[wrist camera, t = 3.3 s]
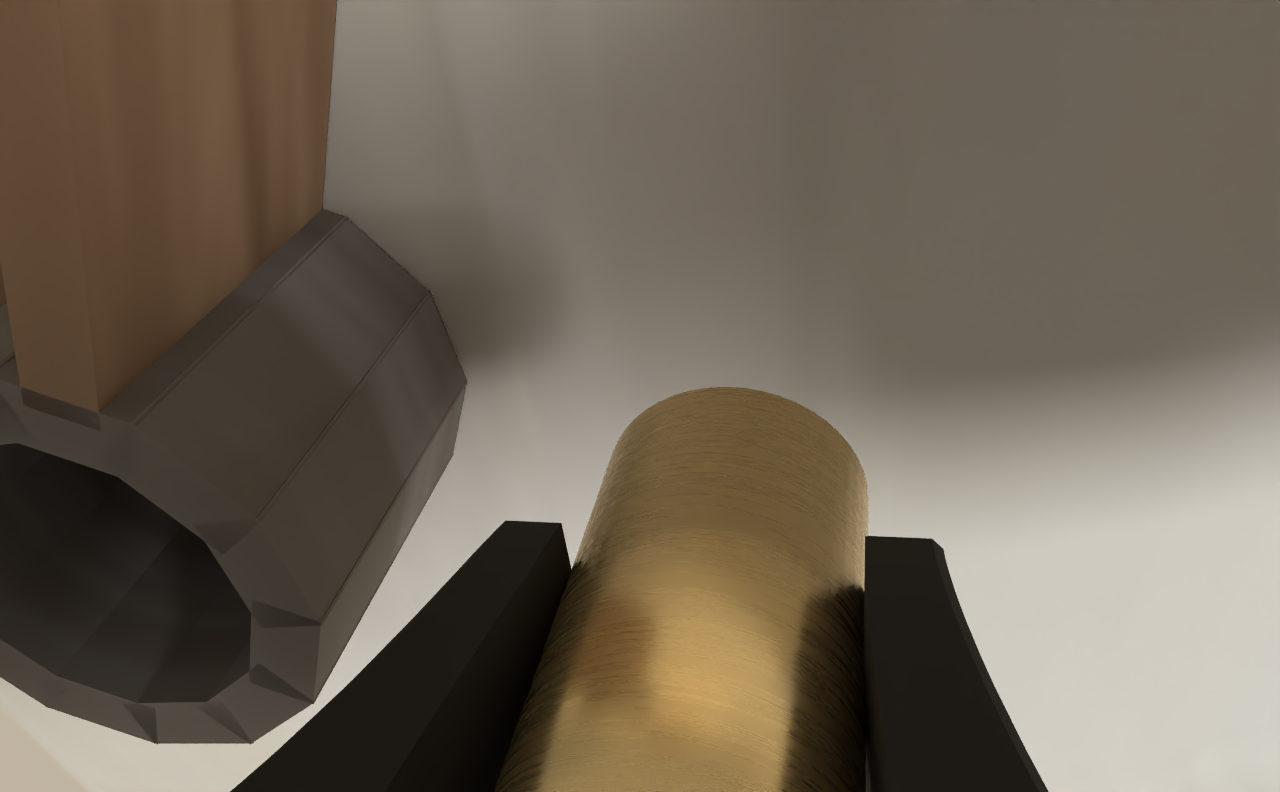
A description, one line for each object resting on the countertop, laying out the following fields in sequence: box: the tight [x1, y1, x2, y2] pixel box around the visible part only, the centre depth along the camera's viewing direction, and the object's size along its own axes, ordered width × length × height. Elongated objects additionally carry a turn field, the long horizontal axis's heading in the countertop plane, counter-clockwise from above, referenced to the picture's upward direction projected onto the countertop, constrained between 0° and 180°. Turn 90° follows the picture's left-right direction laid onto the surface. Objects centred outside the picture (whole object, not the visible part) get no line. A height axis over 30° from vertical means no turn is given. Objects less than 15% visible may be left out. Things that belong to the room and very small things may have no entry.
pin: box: [494, 387, 868, 792], centre depth 9 cm, size 3×3×7 cm
